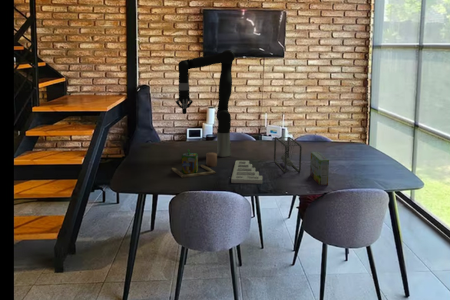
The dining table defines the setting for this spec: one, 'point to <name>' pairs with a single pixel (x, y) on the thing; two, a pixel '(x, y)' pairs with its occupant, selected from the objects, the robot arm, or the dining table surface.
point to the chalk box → (189, 163)
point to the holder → (245, 173)
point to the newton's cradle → (287, 153)
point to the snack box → (319, 168)
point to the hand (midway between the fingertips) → (184, 113)
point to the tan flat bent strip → (195, 173)
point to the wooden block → (211, 159)
